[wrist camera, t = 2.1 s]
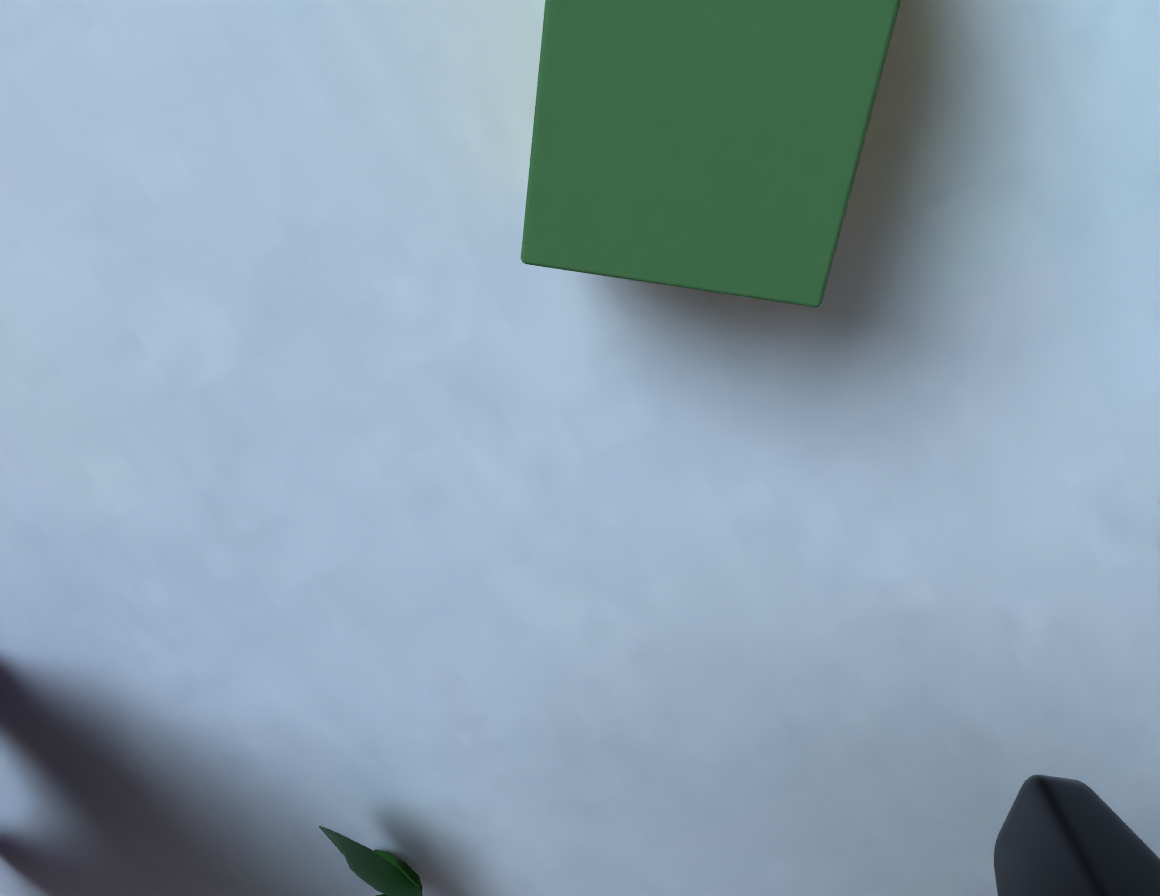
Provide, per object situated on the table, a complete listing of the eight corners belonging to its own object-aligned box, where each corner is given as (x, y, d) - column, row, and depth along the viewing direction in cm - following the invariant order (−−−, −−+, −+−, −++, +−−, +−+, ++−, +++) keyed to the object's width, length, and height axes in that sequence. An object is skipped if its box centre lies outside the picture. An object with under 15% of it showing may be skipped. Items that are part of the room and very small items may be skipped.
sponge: (893, -159, 15) (943, -159, 12) (799, 232, 18) (820, 310, 15) (590, -202, 15) (564, -212, 12) (547, 195, 18) (519, 265, 15)
